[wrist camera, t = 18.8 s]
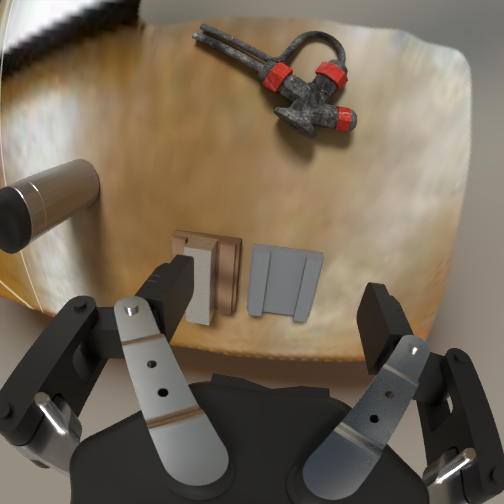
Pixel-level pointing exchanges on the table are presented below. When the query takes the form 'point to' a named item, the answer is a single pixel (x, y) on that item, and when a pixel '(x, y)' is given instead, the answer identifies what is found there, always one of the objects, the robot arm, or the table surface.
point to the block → (202, 279)
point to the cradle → (218, 266)
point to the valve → (295, 82)
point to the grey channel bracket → (283, 281)
